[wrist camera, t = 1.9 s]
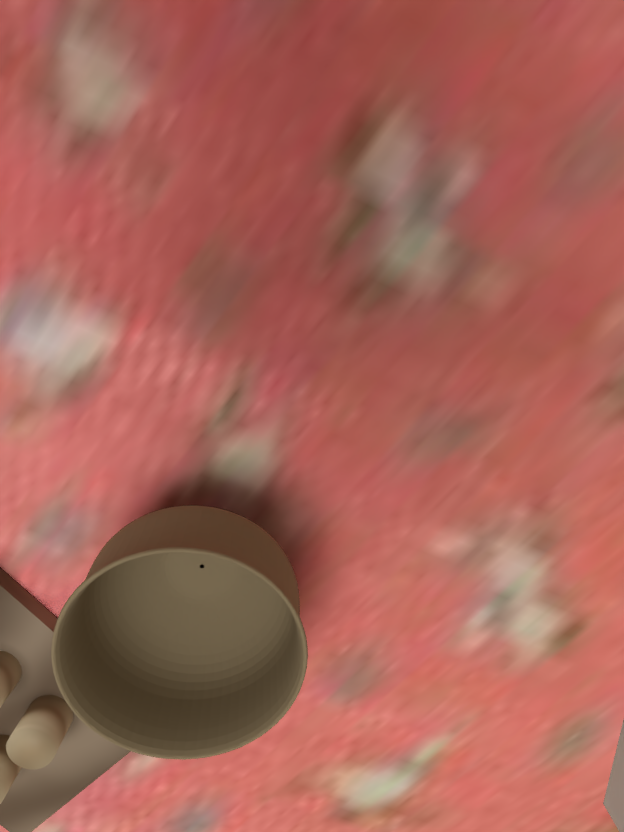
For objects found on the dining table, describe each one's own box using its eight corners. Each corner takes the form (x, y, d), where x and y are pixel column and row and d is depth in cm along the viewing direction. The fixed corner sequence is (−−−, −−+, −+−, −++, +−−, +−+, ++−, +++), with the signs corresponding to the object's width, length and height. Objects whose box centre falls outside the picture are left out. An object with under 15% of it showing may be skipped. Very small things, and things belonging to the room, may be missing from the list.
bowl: (179, 682, 40) (141, 812, 30) (73, 534, 37) (-7, 624, 27) (339, 599, 39) (353, 706, 29) (241, 441, 36) (220, 500, 26)
